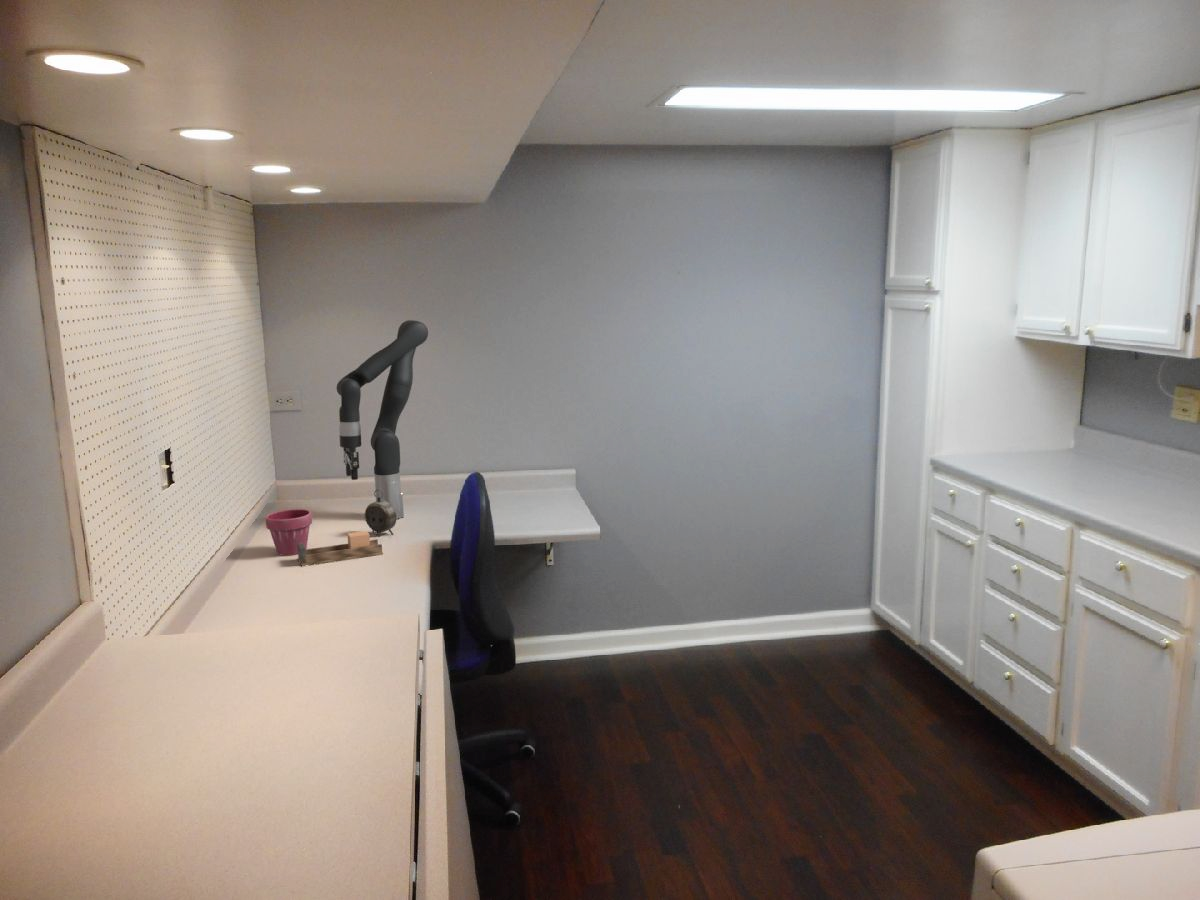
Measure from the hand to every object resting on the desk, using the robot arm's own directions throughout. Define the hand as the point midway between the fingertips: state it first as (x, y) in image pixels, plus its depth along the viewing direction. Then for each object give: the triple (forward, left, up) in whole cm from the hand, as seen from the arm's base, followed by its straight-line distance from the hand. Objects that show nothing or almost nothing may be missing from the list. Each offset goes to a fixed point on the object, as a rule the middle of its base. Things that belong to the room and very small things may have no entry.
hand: (351, 477), depth 313 cm
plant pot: (+25, +26, -18) cm, 40 cm away
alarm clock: (-5, +20, -18) cm, 27 cm away
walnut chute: (+12, +40, -17) cm, 45 cm away
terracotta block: (+6, +40, -17) cm, 44 cm away
